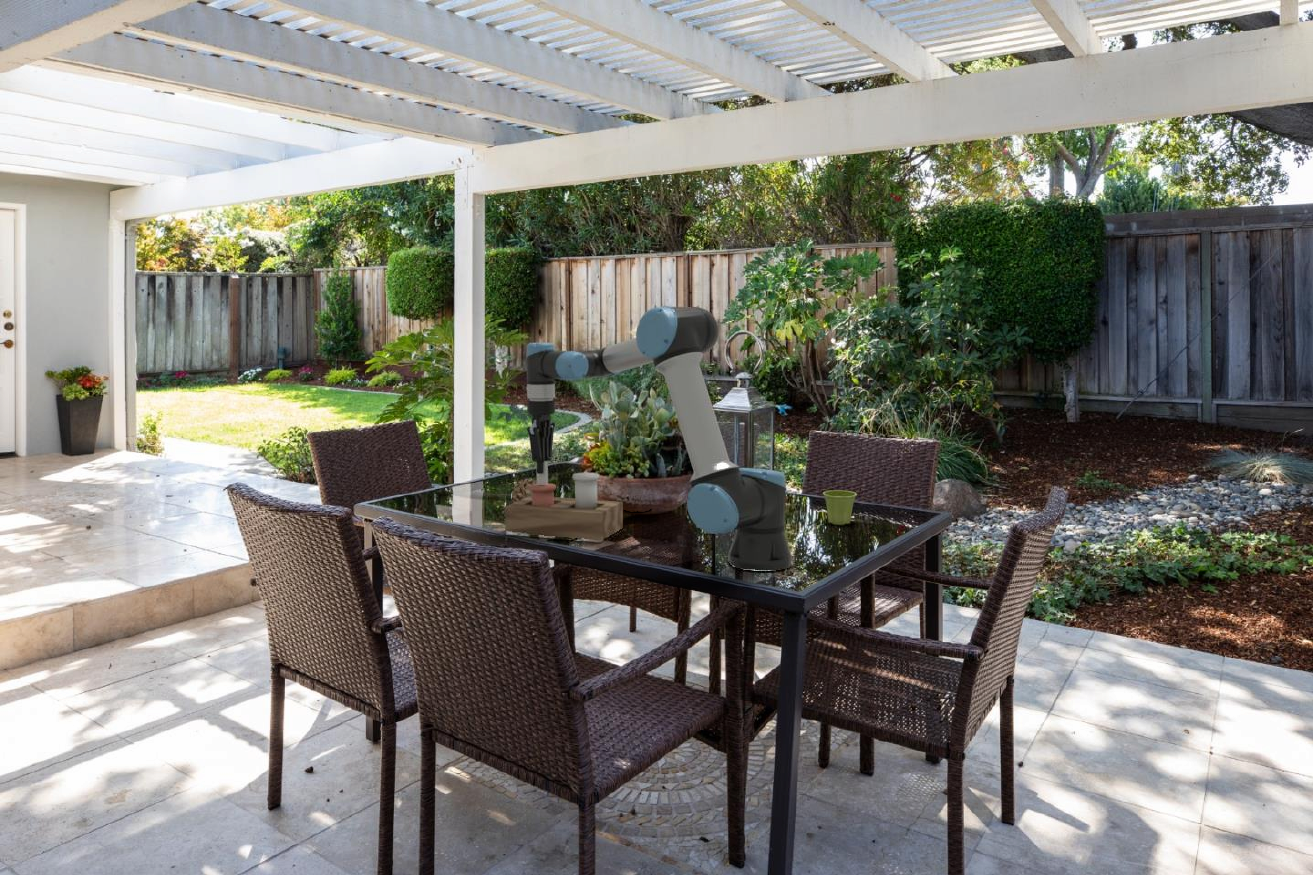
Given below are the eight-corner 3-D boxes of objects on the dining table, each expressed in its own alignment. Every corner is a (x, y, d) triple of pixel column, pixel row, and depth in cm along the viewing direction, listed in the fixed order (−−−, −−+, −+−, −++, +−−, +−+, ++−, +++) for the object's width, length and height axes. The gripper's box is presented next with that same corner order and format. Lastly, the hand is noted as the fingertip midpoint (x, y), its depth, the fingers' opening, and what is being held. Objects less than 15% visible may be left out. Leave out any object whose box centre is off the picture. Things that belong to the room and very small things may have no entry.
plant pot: (856, 527, 260) (856, 497, 259) (822, 525, 262) (822, 495, 261) (855, 520, 269) (856, 490, 268) (822, 518, 271) (823, 489, 270)
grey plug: (593, 518, 247) (593, 477, 245) (568, 516, 249) (568, 476, 248) (603, 512, 253) (603, 473, 252) (579, 511, 256) (579, 472, 254)
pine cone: (512, 506, 289) (511, 475, 287) (543, 505, 290) (542, 474, 289) (510, 522, 267) (509, 488, 266) (543, 521, 268) (543, 487, 267)
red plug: (549, 528, 251) (548, 488, 250) (525, 526, 254) (524, 487, 252) (560, 522, 258) (560, 484, 257) (537, 520, 260) (536, 482, 259)
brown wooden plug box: (601, 543, 242) (600, 513, 241) (505, 535, 251) (504, 506, 250) (622, 529, 257) (622, 501, 256) (532, 522, 266) (531, 495, 265)
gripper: (539, 397, 259) (540, 479, 262) (517, 401, 246) (519, 488, 250) (563, 397, 256) (564, 481, 259) (543, 402, 244) (544, 489, 247)
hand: (542, 484), depth 254 cm, fingers closed
